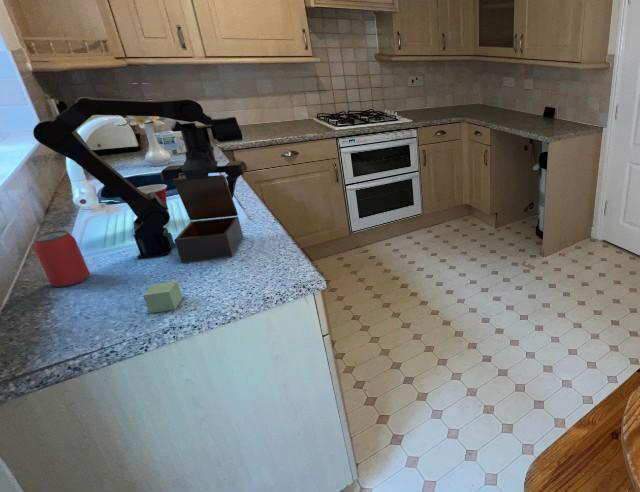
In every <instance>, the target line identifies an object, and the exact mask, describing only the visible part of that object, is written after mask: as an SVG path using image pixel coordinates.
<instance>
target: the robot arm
mask: <svg viewBox="0 0 640 492" xmlns="http://www.w3.org/2000/svg"><path fill="white" fill-rule="evenodd" d="M92 116H117V117H119V116H121V117H122V116H125V117H126V116H157V117H164V118H169V119H173V121H174V120H175V121H174V124H172V127H171V126H170V131H173V132H177V131H181V134H182V137H183V141H184V144H185V148H186V151H187V152H184V154H185V161H184V163H183V164H175V165H168V166H166V167H165V168H163V169H162V170H161V171H160V177H161V180H162V182H168V183H170V184H174V182H173V179H175V178H186V179H187V180H192V179H205V178H207V177H208V176H209V174H221V173H225V175H227V176H225V179H226V182H227V184H228V187H229V190H230V193H231V196H232V199H233V198H234V195H235V190H236V185H237V182H238V181H237V180H238V178H240V177H241V176H243V175H244V174H245V173H246V172H247V170H248V168H247V164H246V162H245V161H243V160H236V161H228V162H227V163H226V164H225V165H218V164H219V163H218V160H216V157H215V153H214V151H215V149H214V146H212V142H211V139H212V141H216V142H218V144H225V143H235V142H241V141H242V142H243V140H244V139H243V133H242V130H241V128H240V125H239V123H238V119H237V117H235V116H228V117H222V118H220V117H219V118H212V117H211V116H210V115H209V114H208V115H207V114H206V113H205V112H204V108H203V107H202V105H201V104H200V103H199V102H197V101H196V100H195V99H193V98H191V97H185V96H183V97H174V98H166V99H158V100H157V99H156V100H149V99H148V100H147V99H126V98H125V99H123V98H105V97H104V98H102V97H101V98H100V97H99V98H98V97H90V96H80V97H78V98H77V99H76V100H75V101H74V103H72V104H71V105H69V106H68V107H66V109H65V110H63V111H61V112H60V113H58V114H57V115H56V116H55V117H46V118H42V120H40V121H39V122H37V124H36V125H35V126H34V128H33V131H32V134H33V137H34V139H35V140H36V141H37V142H38V143H39V144H42V145H43V146H44V147H46V148H48V149H50V150H51V151H53V152H55V153H57V154H59V155H61V156H63V157H66V158H67V159H70V160H72V161H73V162H74V163H76V164H77V165H78V166H80V167H81V168H82V169H83V170H85V171H86V172H87V173H88V174H90V175H91V176H92V177H93V178H95V180H97V181H98V182H99V183H101V185H103V186H105V187H106V188H107V189H108V190H109V191H111V192H112V193H113V194H115V196H117V197H118V198H120V199H121V200H122V201H123V202H124V203H126V204H127V206H129V208H130V210H131V211H132V212H133V214H134V216H136V219H135V220H134V221H133V222H132V224H133V233H134V234H133V238H134V241H135V244H136V247H137V249H138V252H139V254H138V255H136V256H137V259H145V258H153V257H161V256H167V255H169V253H170V252H171V251H172V250H173V249H174V248H175V247H176V244H175V241H174V238H173V235H172V233H171V232H169V230H168V228H167V226H166V225H168V224H169V222H170V220H171V214H170V212H169V207H168V202H167V203H166V202H165V201H163V200H161V199H160V198H159V197H158V196H157V195H156V194H155V193H154V192H153V193H151V194H150V195H147V194H145V193H143V192H141V191H140V190H138V189H137V188H138V187H137V186H135V185H134V184H133V183H131V182H130V181H129V180H128V179H127V178H126V177H124V176H123V175H122V174H121V173H120V172H118V171H117V170H116V169H115V168H114V167H112V166H111V165H110V164H109V163H108V162H106V161H105V160H104V159H103V158H102V157H100V156H99V155H98V154H97V153H96V152H94V150H93V149H91V148H90V146H88V144H87V143H86V141H85V140H84V139H83V137H82V136H81V134H79V132H78V131H77V129H78V128H80V127H81V126H83V124H84V123H85V122H87V121H88V120H89V119H90V118H91V117H92ZM180 121H181V122H185V123H181V122H180ZM196 123H200V125H198V124H196ZM208 129H209V130H208ZM209 133H210V135H209ZM210 136H211V138H210ZM165 226H166V227H165Z"/></svg>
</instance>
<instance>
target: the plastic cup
mask: <svg viewBox="0 0 640 492" xmlns="http://www.w3.org/2000/svg"><path fill="white" fill-rule="evenodd" d="M167 187H168V185H167V184H163V183H161V184H158V183H157V184H149V185H143V186H139V187H136V188H137V189H138V190H140V191H141V192H143V193H145V194H147V195H150V194H151V193H153V192H154V193H155V194H156V195H157V196H158V197H159V198H160V199H161V200H163V201H165V202H166V203H167V204H168V202H167Z"/></svg>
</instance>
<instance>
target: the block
mask: <svg viewBox="0 0 640 492" xmlns="http://www.w3.org/2000/svg"><path fill="white" fill-rule="evenodd" d="M142 297H143V301H144V303H145V306H146V308H147V310H148V313H149V314H155V313H160V312H167V311H174V310H176V309H177V308H178V306H179V304H180V303H181V301H183V298H184V297H183V294H182V291H181V289H180V286H179V282H178V281H177V280H175V281H167V282H160V283H152V284H151V285H150V286H149V287H148V289H147V290H146V291H145V292H144V294H142Z"/></svg>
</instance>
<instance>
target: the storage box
mask: <svg viewBox="0 0 640 492" xmlns="http://www.w3.org/2000/svg"><path fill="white" fill-rule="evenodd" d="M243 239H244V234H243V230H242V226H241V223H240V218H239V216H230V217H220V218H211V219H201V220H191V221H190V222H189V223H188V224H187V225H186V226H185V227H184V229H183V230H182V231H181V232H180V233H179V234H178V235H177V236H176V237H175V238H174V239H173V241H174V243H175V244H176V245H175V247H176V250H177V253H178V257H179V258H180V262H181V264H185V263H192V262H199V261H207V260H214V259H216V260H217V259H224V258H230V257H231V258H232V257H234V255H235V253H236V251H237V249H238V248H239V246H240V244H241V242H242V241H243Z"/></svg>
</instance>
